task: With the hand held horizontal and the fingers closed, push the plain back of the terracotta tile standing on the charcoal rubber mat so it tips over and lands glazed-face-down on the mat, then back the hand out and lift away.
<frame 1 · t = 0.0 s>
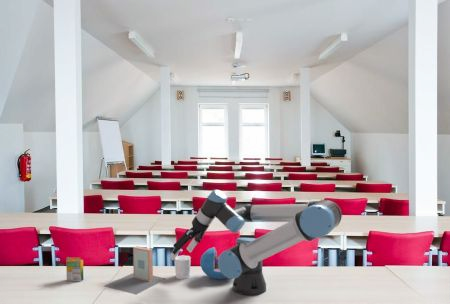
hand: (180, 254, 183), 15 cm above the table, tool tilted 35°, fingers open, 13 cm apart
crayon box: (75, 280, 193), on the table
mat: (136, 283, 188), on the table
educational model: (219, 278, 195), on the table
tile: (143, 278, 192), point 1 cm above the table, touching mat
white cup: (182, 278, 196), on the table
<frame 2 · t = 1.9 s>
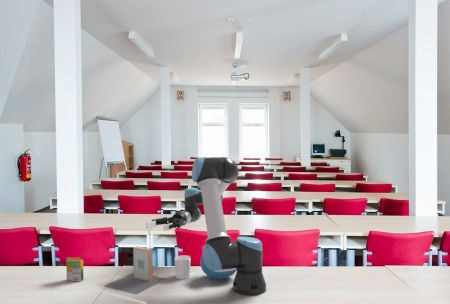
hand: (155, 226, 200), 24 cm above the table, tool horizontal, fingers open, 10 cm apart
nothing on the table moved.
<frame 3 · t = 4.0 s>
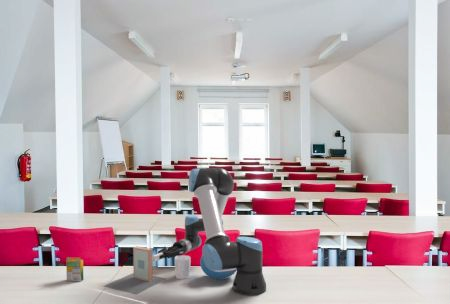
hand: (154, 258, 200), 8 cm above the table, tool horizontal, fingers closed
nothing on the table moved.
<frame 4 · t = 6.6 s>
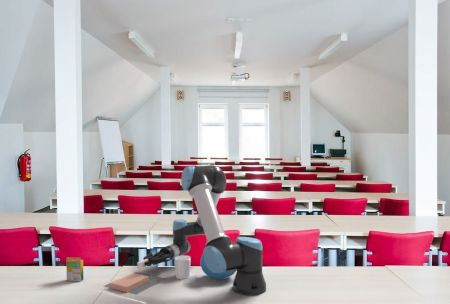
hand: (138, 265, 190), 8 cm above the table, tool horizontal, fingers closed
tile: (141, 277, 191), point 2 cm above the table, tilted 90°, touching mat
everything else where it was.
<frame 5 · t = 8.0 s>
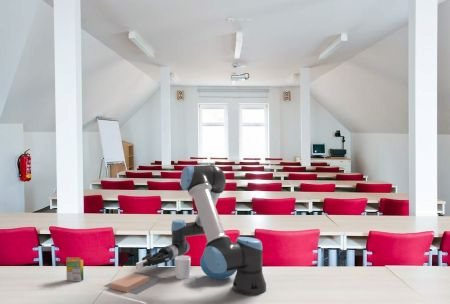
hand: (137, 266, 189), 8 cm above the table, tool horizontal, fingers closed
nothing on the table moved.
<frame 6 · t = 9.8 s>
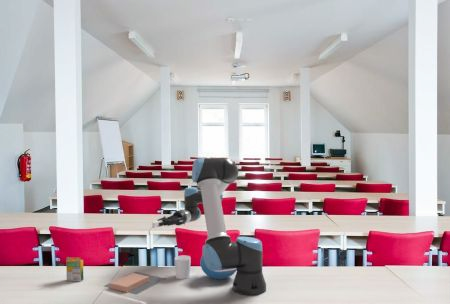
hand: (153, 225, 199), 25 cm above the table, tool horizontal, fingers closed
nothing on the table moved.
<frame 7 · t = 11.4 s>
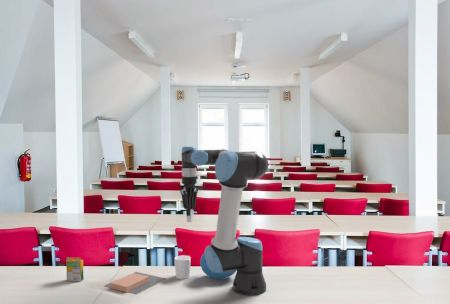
hand: (189, 221, 206), 25 cm above the table, tool pointing down, fingers closed
nothing on the table moved.
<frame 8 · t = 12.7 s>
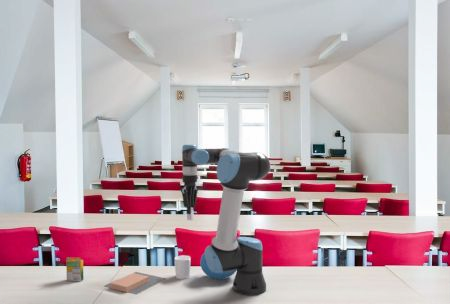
hand: (190, 219, 206), 26 cm above the table, tool pointing down, fingers closed
nothing on the table moved.
at the end: tile tilted 90°; tile inside the target area (6.0 cm from its centre), point 1.9 cm above the table; tile moved 2.0 cm from its start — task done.
